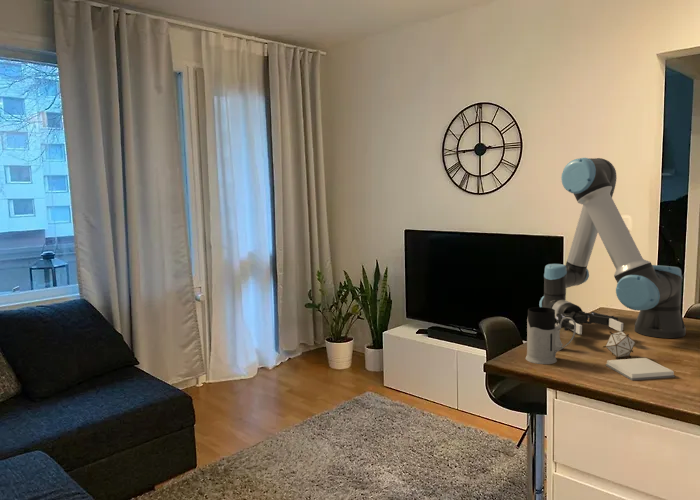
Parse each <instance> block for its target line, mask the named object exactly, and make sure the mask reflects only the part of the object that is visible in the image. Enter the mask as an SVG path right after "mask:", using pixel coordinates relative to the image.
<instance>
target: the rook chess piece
mask: <svg viewBox="0 0 700 500" xmlns="http://www.w3.org/2000/svg"><path fill="white" fill-rule="evenodd" d="M559 327H560V324H559V323H558V322H555V329H559ZM560 333H561V329H560V330H559V331H555V352H556V351H557V350H558V349H560V348H561V347H563V346H564V344H563V342H562V340H561V337H560V335H561V334H560ZM562 350H563V348H562V349H561V350H560V351H562Z"/></svg>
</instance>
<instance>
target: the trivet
mask: <svg viewBox="0 0 700 500" xmlns="http://www.w3.org/2000/svg"><path fill="white" fill-rule="evenodd" d="M605 366H606V367H608V368H609V369H610V370H613V371H614V372H616V373H618V374H619V375H621V376H624V377H625V378H626V379H628V380H631V381H642V380H654V379H655V380H656V379H658V380H659V379H670V378H671V379H672V378H675V377H676V375H675V372H674V370H672V369H671V368H668V367H666V366H663V365H661V364H659V363H657V362H655V361H653V360H651V359H649V358H647V357H638V358H637V357H636V358H627V359H626V358H624V359H621V358H620V359H618V360H617V359H611V360H610V359H608V360H606V363H605Z"/></svg>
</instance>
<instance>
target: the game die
mask: <svg viewBox="0 0 700 500" xmlns="http://www.w3.org/2000/svg"><path fill="white" fill-rule="evenodd" d="M624 331H625V329H624V328H623V330H622V332H620V331H617V332H612V331H611V330H609V334H610V335H609V336H607V341H606V344H605V345H603V346H602V348H603V349H604V348H606V349H607V350H608V351H610V353H611V355H612V356H613V355H614V356H615V357H616V358H615V360H619V358H622V357H623V358H624V357H629V359H632V356H631V354H632V353H634V350H633V348H634V347H635V345H636V344H638V343H639V341H638V340H636V341H635V340H634V339H632V338H631V337H630V334H629V333H626V332H624Z"/></svg>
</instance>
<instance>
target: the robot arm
mask: <svg viewBox="0 0 700 500" xmlns="http://www.w3.org/2000/svg"><path fill="white" fill-rule="evenodd" d="M560 178H561V183H562V187H563V188H564V190H566V191H567V192H569V193H571V194H573V195H574V198H575V200H576V201H577V203H578V204H580V205H582V207H581V210H580V214H579V219H578V221H577V226H576V228H575V231H574V236H573V239H572V242H571V245H570V248H569V249H570V250H569V252H568V255H567V259H566V263H565V264H561V263H548V264H546V265H545V266H544V273H543V282H544V283H543V296H542V297H540V300H539V304H538V305H539V306H538V307H545V308H551V309H554V310H555V322H556V323H557V324H558V323H559V324H560V321H561V320H562V319H563V318H565V317H570V318H572V319H573V320H574V321H575V323H576V332H575V334H578V335H583V334H582V333H583V325H582V324H588V325H591V324H597V325H602V326H608V327H610V328H611V329H614V330H615V331H617V332H622V330H623V329H624V322H621V321H620V320H619V317H618V316H614V315H608V314H603V313H598V312H595V311H591V312H586V311H583V309H582V308H581V307H580V306H579V305H577V304H574V303H572V302H571V301H568V300H567V299H566V298H567V297H566V296H567V288H571V287H577V286H580V285H582V284H584V283H586V282H587V281H588V280H589V278H590V271H589V269H588V266H589V262H590V259H591V255H592V252H593V249H594V246H595V244H596V240H597V236H598V235H599V238H600V239H601V241H602V244H603V245H604V248H605V250H606V252H607V253H608V256H609V258H610V260H611V262H612V264H613V266H614V268H615V272H614V274H613V277H614V279H615V282H616V287H615V296H616V298H617V299H618V300H619V302H620V303H621V304H622V306H624V307H626V308H627V309H629V310H633V311H636V312H637V311H639V312H638V314H637V318H636V320H635V322H634V332H635V333H637V334H640V335H642V336H643V335H644V336H646V337H647V336H648V337H654V338H663V339H679V338H683V337H685V336H686V335H687V333H686V331H687V330H686V328H687V327H686V326H685V325H686V324H685V322H684V319H683V316H682V314H681V304H682V302H681V301H682V300H681V299H682V280H683V276H682V269H681V268H680V267H679V266H671V265H670V266H669V265H658V264H652V262H651V261H649V260H646V259H645V258H644V257H643V256H642V255H641V252H640V251H639V248H638V247H637V244H636V242H635V241H634V239H633V236H632V234H631V233H630V230H629V228H628V227H627V224H626V223H625V221H624V219H623V217H622V214H621V213H620V211H619V209H618V207H617V204H616V203H615V201H614V199H613V196H614V193H615V188H616V186H617V185H616V184H617V170H616V168H615V166H614V165H613V163H612V162H611V161H609V160H607V159H605V158H600V157H598V158H596V157H594V158H588V157H581V158H580V157H579V158H576V159H573V160H571V161H569V162H568V163H567V164H566V165H565V166H564V168H563V171H562V173H561V177H560ZM563 327H564V328H563ZM562 328H563V330H564V331H570V330H571V331H572V332H574V323H573V321H572V320H570V319H568V318H566V319H564V320H563V321H562V324H561V329H562Z"/></svg>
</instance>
